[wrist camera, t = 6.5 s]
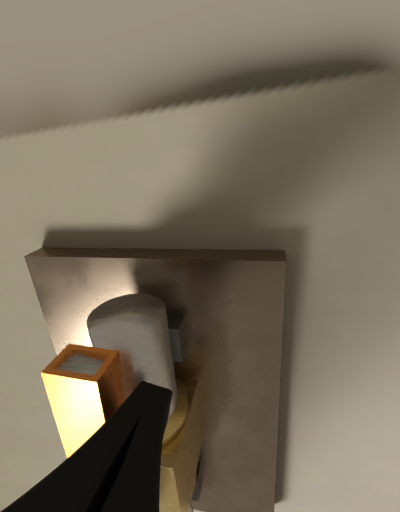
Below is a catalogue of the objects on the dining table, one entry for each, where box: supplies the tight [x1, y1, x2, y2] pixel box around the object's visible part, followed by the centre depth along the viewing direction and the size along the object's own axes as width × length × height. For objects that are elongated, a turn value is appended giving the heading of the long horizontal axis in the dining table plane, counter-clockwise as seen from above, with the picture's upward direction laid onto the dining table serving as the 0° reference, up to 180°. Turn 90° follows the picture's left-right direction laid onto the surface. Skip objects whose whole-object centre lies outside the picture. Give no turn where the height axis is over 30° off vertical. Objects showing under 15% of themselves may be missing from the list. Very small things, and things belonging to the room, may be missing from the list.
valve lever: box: [41, 344, 126, 458], centre depth 12 cm, size 12×3×2 cm, turn 1°
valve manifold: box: [24, 248, 286, 512], centre depth 18 cm, size 24×16×8 cm, turn 4°
